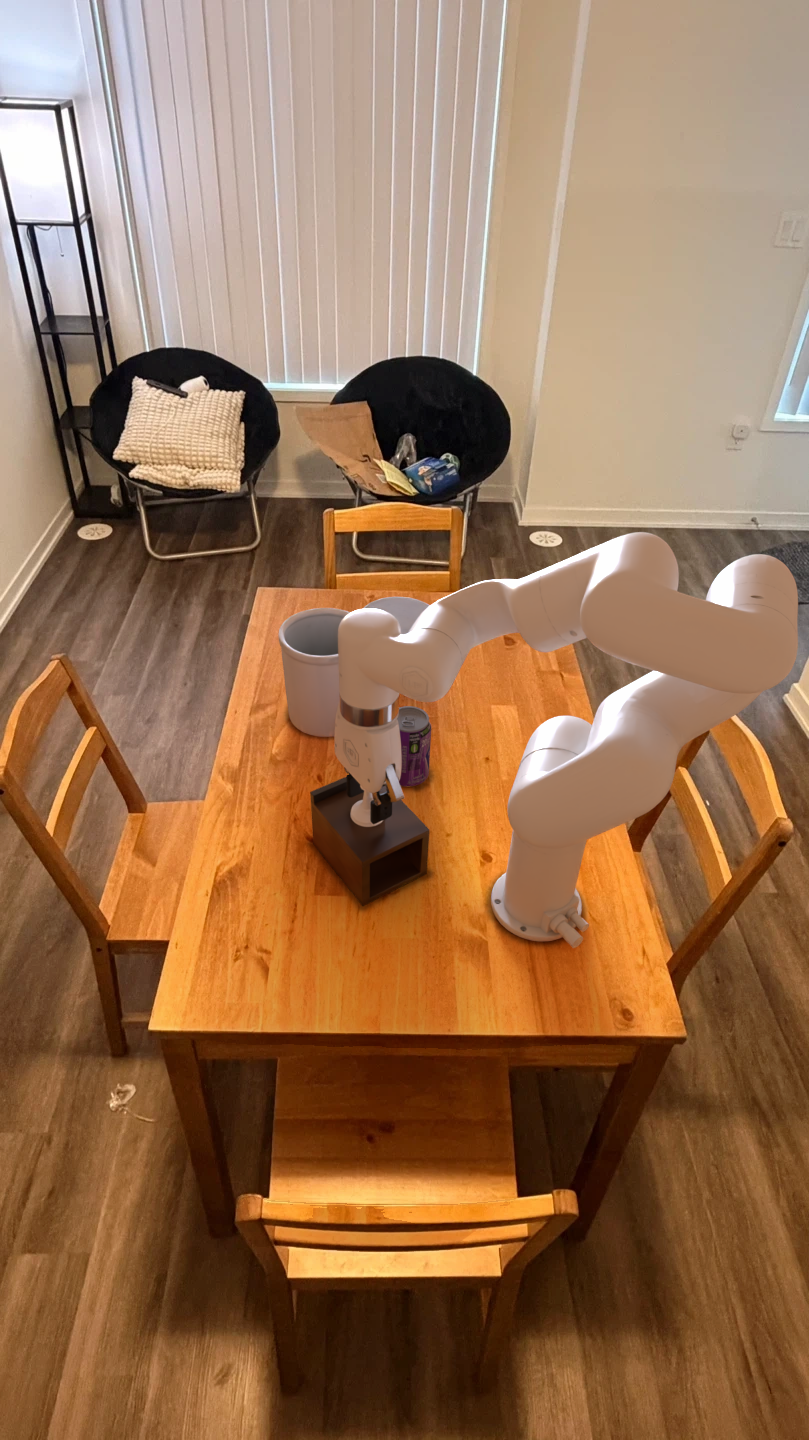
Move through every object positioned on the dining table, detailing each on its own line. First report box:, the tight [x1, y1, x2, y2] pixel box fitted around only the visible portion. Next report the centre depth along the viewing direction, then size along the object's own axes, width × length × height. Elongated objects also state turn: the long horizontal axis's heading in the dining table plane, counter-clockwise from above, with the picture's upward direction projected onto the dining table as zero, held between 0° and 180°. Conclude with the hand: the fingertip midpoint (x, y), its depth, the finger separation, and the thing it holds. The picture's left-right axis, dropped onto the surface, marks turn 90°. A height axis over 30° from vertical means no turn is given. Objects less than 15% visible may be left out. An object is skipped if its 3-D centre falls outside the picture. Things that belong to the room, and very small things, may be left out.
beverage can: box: [397, 705, 432, 787], centre depth 136 cm, size 7×7×12 cm
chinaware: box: [362, 596, 431, 635], centre depth 166 cm, size 15×15×8 cm
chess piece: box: [350, 785, 383, 827], centre depth 117 cm, size 5×5×10 cm
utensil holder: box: [277, 607, 351, 738], centre depth 147 cm, size 15×15×18 cm
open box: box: [309, 776, 430, 907], centre depth 122 cm, size 14×11×11 cm
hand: (369, 804), depth 119 cm, fingers open, 5 cm apart
